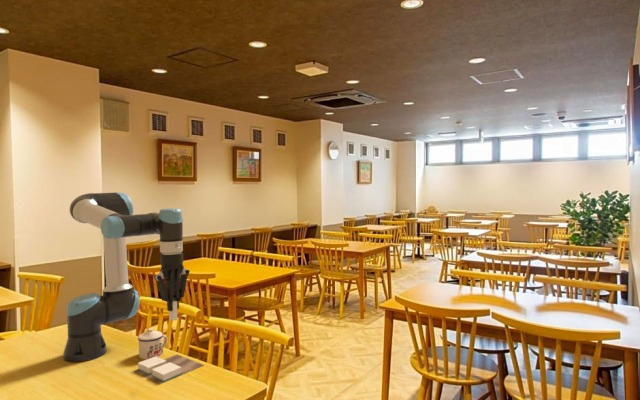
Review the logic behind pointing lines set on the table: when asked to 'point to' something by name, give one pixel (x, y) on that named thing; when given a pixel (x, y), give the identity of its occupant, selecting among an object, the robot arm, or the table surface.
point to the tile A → (150, 364)
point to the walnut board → (178, 360)
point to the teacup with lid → (151, 344)
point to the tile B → (166, 371)
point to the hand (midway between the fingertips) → (173, 319)
